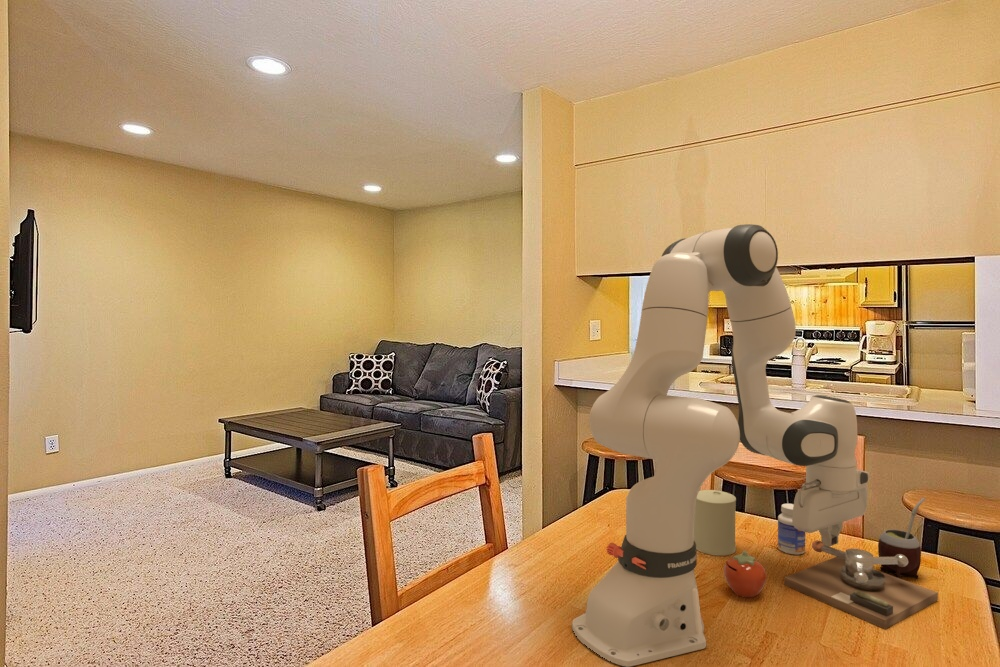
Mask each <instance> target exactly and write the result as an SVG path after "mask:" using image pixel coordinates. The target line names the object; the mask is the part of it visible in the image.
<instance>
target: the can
mask: <svg viewBox="0 0 1000 667" xmlns="http://www.w3.org/2000/svg"><path fill="white" fill-rule="evenodd" d="M736 502H737V497H736V496H735V495H734V494H731V493H730V492H726V491H723V490H716V489H715V490H714V489H700V490H699V492H698V495H697V499H696V505H695V516H694V541H695V543H696V551H698V552H700V553H702V554H705V555H711V556H717V557H718V556H719V557H721V556H722V557H723V556H730V555H732V554H734V553H736V551H737V546H736V504H737V503H736Z"/></svg>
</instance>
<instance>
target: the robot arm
mask: <svg viewBox="0 0 1000 667" xmlns="http://www.w3.org/2000/svg"><path fill="white" fill-rule="evenodd" d="M778 255H779V252H778V246H777V243H776V240H775V239H774V237H773V236H772V234H771V233H770V232H769V231H768V230H767V229H766V228H765V227H763V226H761V225H759V224H737V225H735V226H734V227H726V228H721V229H714V230H707V231H706V230H705V231H704V232H700V233H698V234H697V233H696V234H694V235H692V236H689V237H686V238H685V237H684V238H680V239H678V240H676V241H674V242H673V243H671V244H670V245H668V246H666V248H665V249H664V251H663V252H662V255H661V256H660V257H659V258H657V260H656V261H655V263H654V264H653V265H652V269H651V272H650V274H649V277H648V281H647V284H646V287H645V291H644V295H643V300H642V305H641V306H642V307H641V314H640V320H639V326H638V332H637V337H636V343H635V348H634V351H633V354H632V358H631V360H630V362H629V364H628V366H627V368H626V369H625V371H624V373H623V374H622V375H621V378H619V379H618V381H617V382H616V383H615V384H614V385H613V386H612V387H611V388H610V389H608V390H607V391H605V392H604V393H602V394H600V395H599V396H598V397H597V398H596V400H595V401H594V402H593V405H592V407H591V409H590V411H589V415H588V416H589V418H588V424H589V426H588V427H589V430H590V434H591V436H592V438H593V440H594V441H595V443H597V444H599V445H601V446H603V447H606V448H607V449H609V450H612V451H614V452H616V453H620V454H624V455H629V456H635V457H641V458H645V459H650V460H653V461H655V472H654V475H653V476H651V477H648V478H645V479H643V480H641V481H638V482H636V483H635V484H634V485H633V486H632V487H631V488H630V490H629V491H628V493H627V495H626V498H625V500H626V503H625V504H626V506H625V508H626V509H625V512H626V513H625V515H626V516H625V517H626V519H625V520H626V522H625V523H626V524H625V526H626V530H625V532H626V533H625V535H624V536H623V540H622V543H621V546H620V545H617V544H616V543H614V542H610V543H608V544H607V546H606V553H607V554H608V555H610V556H612V557H613V558H616V559H617V561H616V563H615V564H614V565H613V566H612V567H611V569H610V570H609V571H608V572H607V573H606V574H605V575H604V576H603V578H601V580H600V581H599V582H598V583H597V584H595V586H594V587H593V588H592V589H591V590H590V592H589V593H588V597H587V602H586V607H585V608H586V609H585V613H584V612H583V613H582V614H580V615H579V616H577V617H575V618H573V619H572V622H571V629H572V632H573V631H574V632H573V633H575V634H574V635H575V637H576V636H577V637H576V638H577V639H578V641H580V642H581V643H582V644H583V645H584V644H585V645H586V646H587V647H586V646H585V645H584V646H585V647H586V648H588V649H589V648H590V649H591V650H590V649H589V650H590V651H592V650H593V651H594V652H596V653H597V654H599V655H600V656H599V655H598V656H599V657H601V658H602V657H603V658H602V659H604V658H605V659H604V660H606V659H607V660H606V661H609V662H610V661H611V662H610V663H612V664H616V665H618V666H622V667H634V666H639V665H643V664H646V663H650V662H654V661H658V660H663V659H666V658H670V657H676V656H679V655H680V656H681V655H683V654H684V655H685V654H687V653H691V652H696V651H700V650H703V649H705V648H707V640H706V639H707V638H706V637H705V634H704V630H705V625H704V622H703V618H702V615H701V614H702V613H701V608H700V605H701V604H700V598H699V590H698V585H697V580H696V574H695V573H696V572H695V569H696V567H697V564H698V562H697V558H698V553H697V550H696V543H695V541H694V516H695V505H696V499H697V495H698V492H699V491H700V490H701V487H702V486H703V483H704V482H705V481H706V480H707V479H708V478H709V476H710V475H711V474H713V473H714V472H715V471H717V470H718V469H720V468H721V467H723V466H725V465H726V464H728V463H729V462H730V461H731V460H732V459H733V457H734V456H735V454H736V453H737V450H738V449H739V444H740V443H741V444H742V446H743V447H744V448H745V449H747V450H748V452H751V453H753V454H758V455H761V456H766V457H767V456H768V457H770V458H772V459H775V460H778V461H779V462H780V461H781V462H784V463H786V464H790V465H793V466H798V467H805V483H802V484H801V487H800V489H799V490H798V491H797V492H796V493H795V497H794V499H793V504H794V506H793V517H792V523H793V525H794V527H795V528H796V529H798V530H801V531H804V532H805V533H808V534H813V533H815V532H818V533H819V534H820V536H821V538H820V541H821V542H822V543H823V544H824V545H826V546H829V547H832V546H834V545H838V544H839V536H840V534H841V530H842V528H843V523H845V522H847V521H851V520H854V519H856V518H859V517H863V516H864V515H865V513H866V511H867V508H868V498H869V497H868V495H869V488H868V483H869V482H870V477H871V474H870V473H869V471H866V470H861V469H858V463H857V459H856V454H855V453H856V448H857V445H858V421H857V412H856V410H855V407H854V404H853V403H852V402H850V401H848V400H846V399H842V398H837V397H832V396H827V395H823V394H822V395H819V394H817V395H812V396H810V399H809V401H808V402H807V403H806V404H805V405H804V406H802V407H801V408H799V409H797V410H795V411H792V412H791V413H790V412H787V411H786V412H785V411H782V410H779V409H777V408H776V407H775V406H774V404H773V403H772V402H771V399H770V392H769V387H768V386H769V384H768V379H767V373H766V372H767V371H766V367H767V364H768V362H769V361H770V360H771V359H773V358H775V357H777V356H778V355H781V354H782V353H784V352H785V351H786V350H788V348H789V347H790V346H791V344H792V343H793V342H794V339H795V338H796V332H797V330H796V320H795V316H794V311H793V307H792V305H791V304H792V303H791V300H790V296H789V294H788V291H787V288H786V285H785V283H784V280H783V278H782V276H781V274H780V271H779V269H778V267H777V264H778V260H779V256H778ZM720 291H721V292H723V294H724V296H725V303H726V308H727V309H726V310H727V314H728V317H729V321H730V325H731V331H732V336H733V337H732V338H733V344H732V347H731V361H732V362H731V363H732V371H733V377H734V378H733V379H734V384H735V389H736V390H735V391H736V397H737V404H738V420H737V418H736V416H735V414H734V413H733V412H732V410H731V409H730V408H729V407H727V406H725V405H722V404H719V403H716V402H713V401H709V400H706V399H703V398H700V397H690V396H689V397H688V396H680V395H670V394H669V395H668V392H669V390H670V388H671V386H672V385H673V383H674V382H676V380H677V379H678V378H680V377H682V376H684V375H686V374H688V373H691V372H693V371H694V370H696V368H697V367H698V366H699V365H700V363H701V362H702V360H703V357H704V350H705V343H706V342H705V340H706V333H707V324H708V316H709V315H708V314H709V304H710V302H709V301H710V300H709V298H710V297H709V296H710V295H709V294H710V292H720ZM593 651H592V652H593ZM594 652H593V653H594ZM596 653H595V654H596ZM597 654H596V655H597Z"/></svg>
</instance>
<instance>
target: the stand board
mask: <svg viewBox="0 0 1000 667" xmlns="http://www.w3.org/2000/svg"><path fill="white" fill-rule="evenodd" d="M843 566H845V559H842V558H839V557H836V556H834V557H833V558H831V559H827V560H825V561H823V562H819V563H816V564H815V565H812V566H809V567H807V568H804V569H802V570H799V571H797V572H795V573H792V574H790V575H786V576H785V577H783V579H784V580H783V581H784V582H783V585H784V586H785V587H787V588H791V589H792V590H795V591H797V592H800V593H802V594H805V595H806V596H808V597H811V598H813V599H816V600H818V601H819V602H822V603H824V604H826V605H829V606H831V607H834V608H836V609H837V610H840V611H842V612H845V613H847V614H850V615H852V616H854V617H856V618H859V619H861V620H863V621H865V622H868V623H870V624H873V625H875V626H877V627H879V628H882V629H884V630H886V629H889V628H890V627H892V626H895V624H897V623H899V622H901V621H903V620H905V619H907V618H908V617H910V616H912V615H914V614H916V613H918V612H920V611H921V610H923V609H925V608H927V607H929V606H930V605H932V604H934V603H936V602H937V600H939V599H938V598H939V592H938V591H935V590H933V589H930V588H927V587H924V586H922V585H919V584H916V583H913V582H911V581H907V580H905V579H902V578H901V579H900V578H897V577H896V576H894V575H890V574H888V573H887V572H884V571H881V570H878V571H879V572H881V573H882V574H883V575H884V576H885V587H884V589H882V590H876V591H872V590H864V589H859V588H856V587H853V586H850V585H848V584H847V583H845V582H844V581H842V579H841V567H843Z"/></svg>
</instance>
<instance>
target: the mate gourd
mask: <svg viewBox="0 0 1000 667" xmlns="http://www.w3.org/2000/svg"><path fill="white" fill-rule="evenodd" d="M925 500H926V498H925V497H922V498H921V499H920V500H919V501H918V502H917V503H916V504H915V506H914V508H912V510H911V516H910V519H909V523H908V526H907V530H906V531H904V530H899V529H886V530H884V531H883V532H882V533H881V534H880V536H879V539H878V544H877V550H878V551H877V552H878V553H877V554H878V557H895V556H896V555H897V554H902V555H904V556H906V557H907V559H908V564H907V565H906V566H905V567H900V566H898V565H897V564H883V565H880V567H879V571H880V572H884V573H890V574H894V575H895V577H897V578H900V579H902V576H904V577H907V578H911V579H919V574H918V572H919V569H920V567H921V563H922V548H921V544H920V543H921V542H919V539H918V538H917V537H916V536H915V535H913V533H911V531H912V528H913V525H914V521H915V516H916V515H917V514H918V509H919V508H920V506H921V505H922V504H923V502H924V501H925Z"/></svg>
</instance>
